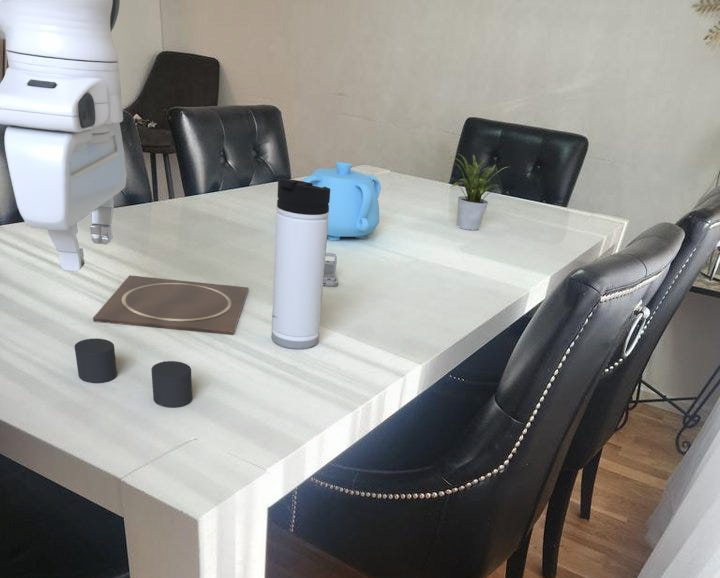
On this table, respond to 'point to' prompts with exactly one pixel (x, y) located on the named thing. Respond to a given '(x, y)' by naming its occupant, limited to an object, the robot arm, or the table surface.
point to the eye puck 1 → (96, 360)
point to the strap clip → (330, 271)
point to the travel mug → (299, 263)
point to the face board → (175, 305)
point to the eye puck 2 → (172, 384)
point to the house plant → (473, 195)
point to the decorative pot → (349, 200)
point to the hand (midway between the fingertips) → (88, 254)
